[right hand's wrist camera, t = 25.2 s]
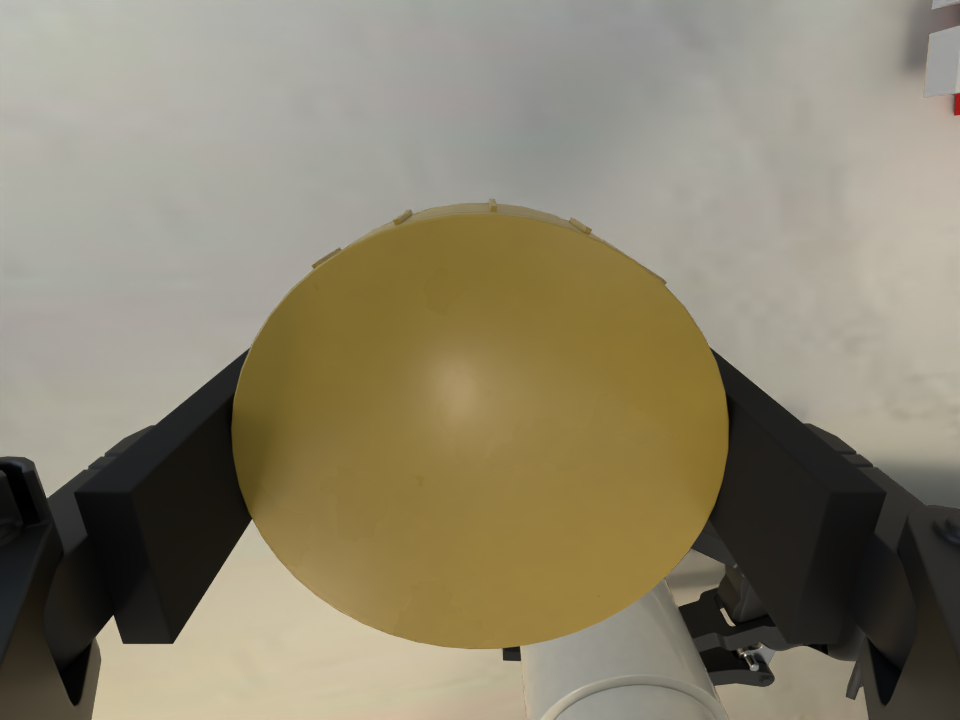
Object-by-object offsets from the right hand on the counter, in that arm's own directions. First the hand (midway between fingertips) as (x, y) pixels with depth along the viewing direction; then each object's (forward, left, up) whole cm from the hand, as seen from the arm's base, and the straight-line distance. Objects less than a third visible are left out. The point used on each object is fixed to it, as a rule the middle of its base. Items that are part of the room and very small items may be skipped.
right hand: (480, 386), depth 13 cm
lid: (0, 0, +3) cm, 3 cm away
